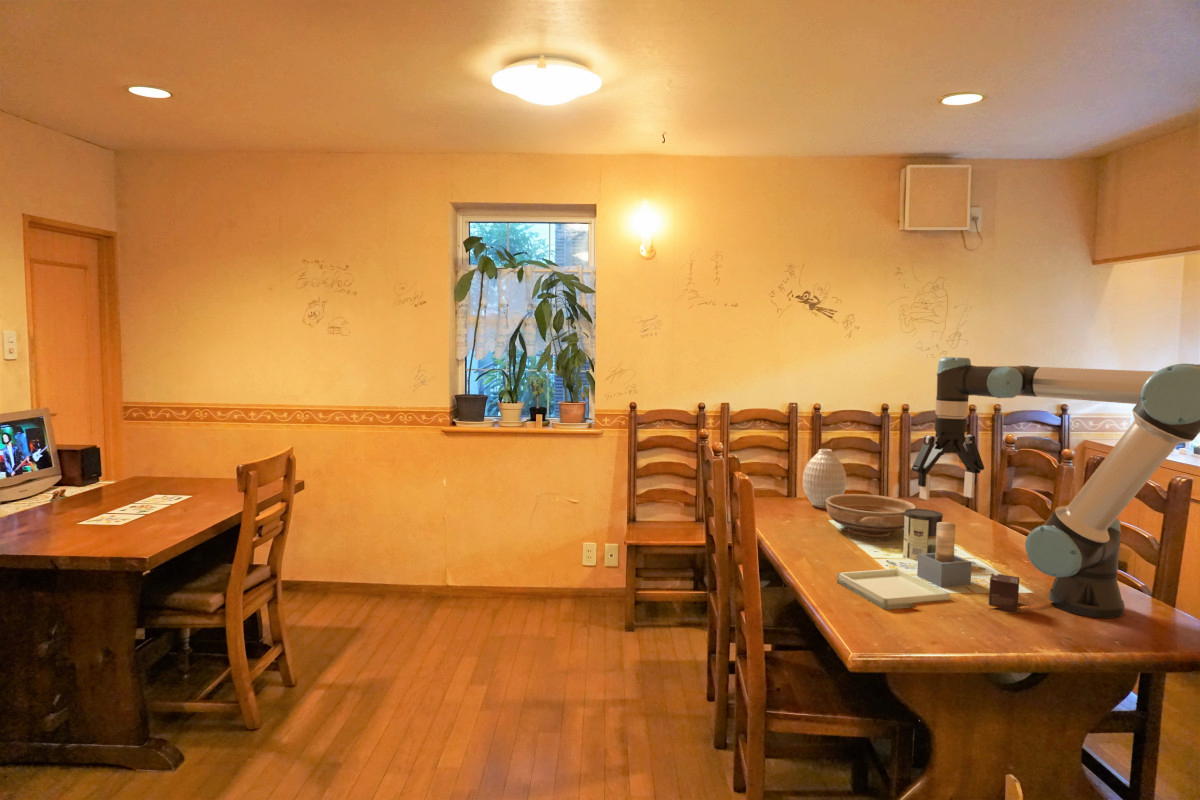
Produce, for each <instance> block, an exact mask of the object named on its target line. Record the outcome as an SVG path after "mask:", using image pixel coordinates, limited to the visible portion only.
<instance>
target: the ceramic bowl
mask: <svg viewBox="0 0 1200 800" xmlns="http://www.w3.org/2000/svg"><path fill="white" fill-rule="evenodd" d="M825 509H826V511H827V513H828V516H830V518H831V520H833V521H834V522H836V523H838V524H839V525H841V526H843V527H846V528H847V530H848V531H849V532H850V533H852V534H855V535H857V536H862V537H870V538H871V537H872V538H874V537H875V538H882V537H888V536H890V535H891V532H895V531H899V530H902V529H903V530H904V520H905V514H904V511H905V510H907V509H918V508H917V506H916V505H915V504H914V503H913V502H910V501H907V500H904V499H901V498H896V497H890V496H884V495H877V494H867V493H866V494H864V493H861V494H860V493H859V494H857V493H849V494H848V493H846V494H845V493H844V494H843V495H835V496H831V497H828V498H827V499H826V508H825Z"/></svg>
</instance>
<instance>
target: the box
mask: <svg viewBox="0 0 1200 800" xmlns="http://www.w3.org/2000/svg"><path fill="white" fill-rule="evenodd" d="M1019 591H1020V576H1013V575H1005V574H1000V573H991V575H990V579H989V591H988V593H989V595H988V605H989V606H991V608H990V610H994V611H999V612H1005V613H1010V614H1018V611H1019V610H1018V609H1019V597H1020V594H1019ZM994 607H995V608H994Z"/></svg>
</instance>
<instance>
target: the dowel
mask: <svg viewBox="0 0 1200 800" xmlns="http://www.w3.org/2000/svg"><path fill="white" fill-rule="evenodd" d="M955 542H956V524H955V523H952V522H948V521H942V522H937V530H936V551H935V560H938V561H940V562H942V563H944V562H954V555H955Z"/></svg>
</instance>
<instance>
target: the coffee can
mask: <svg viewBox="0 0 1200 800" xmlns="http://www.w3.org/2000/svg"><path fill="white" fill-rule="evenodd" d="M904 514H905V520H904V528H903V549H902V550H903V552H902V558H905V559H906V558H907V559H909V560H913V561H917V562H918V554H925V553H935V551H936V530H937V522H943V518H944V515H943V513H942V512H940V511H938V510H937V511H936V510H931V509H926V508H924V509H923V508H917V509H907V510H905V511H904Z"/></svg>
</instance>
